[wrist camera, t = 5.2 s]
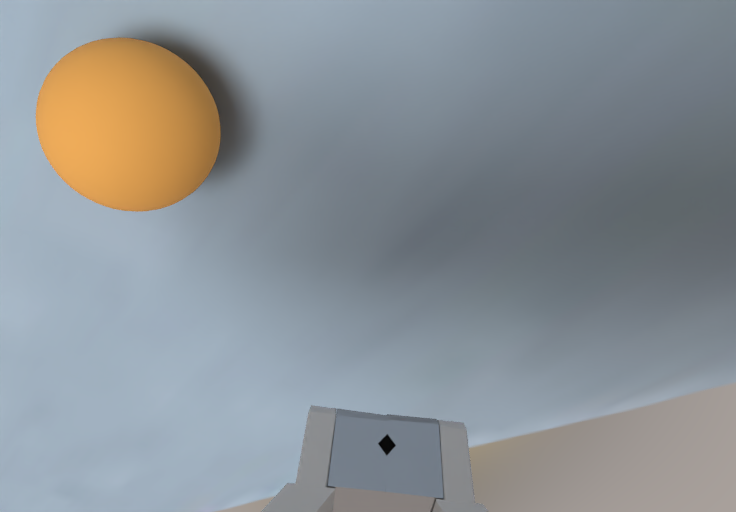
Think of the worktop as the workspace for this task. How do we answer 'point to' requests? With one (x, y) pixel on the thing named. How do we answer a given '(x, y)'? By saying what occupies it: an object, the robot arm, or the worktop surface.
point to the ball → (128, 124)
